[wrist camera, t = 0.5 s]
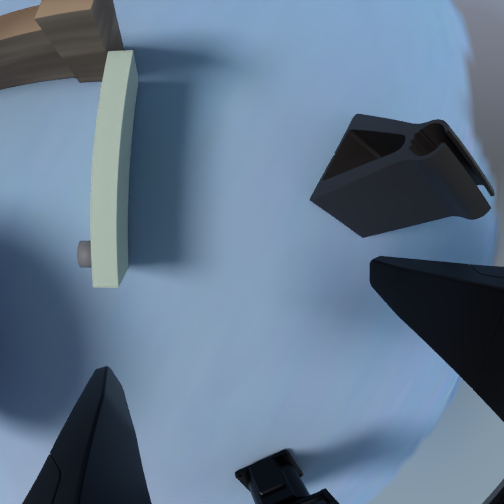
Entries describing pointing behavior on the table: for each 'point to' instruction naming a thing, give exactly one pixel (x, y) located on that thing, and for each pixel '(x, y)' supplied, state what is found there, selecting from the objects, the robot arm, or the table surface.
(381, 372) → the table surface
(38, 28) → the brown box
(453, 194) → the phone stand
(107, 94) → the pale green curved block
